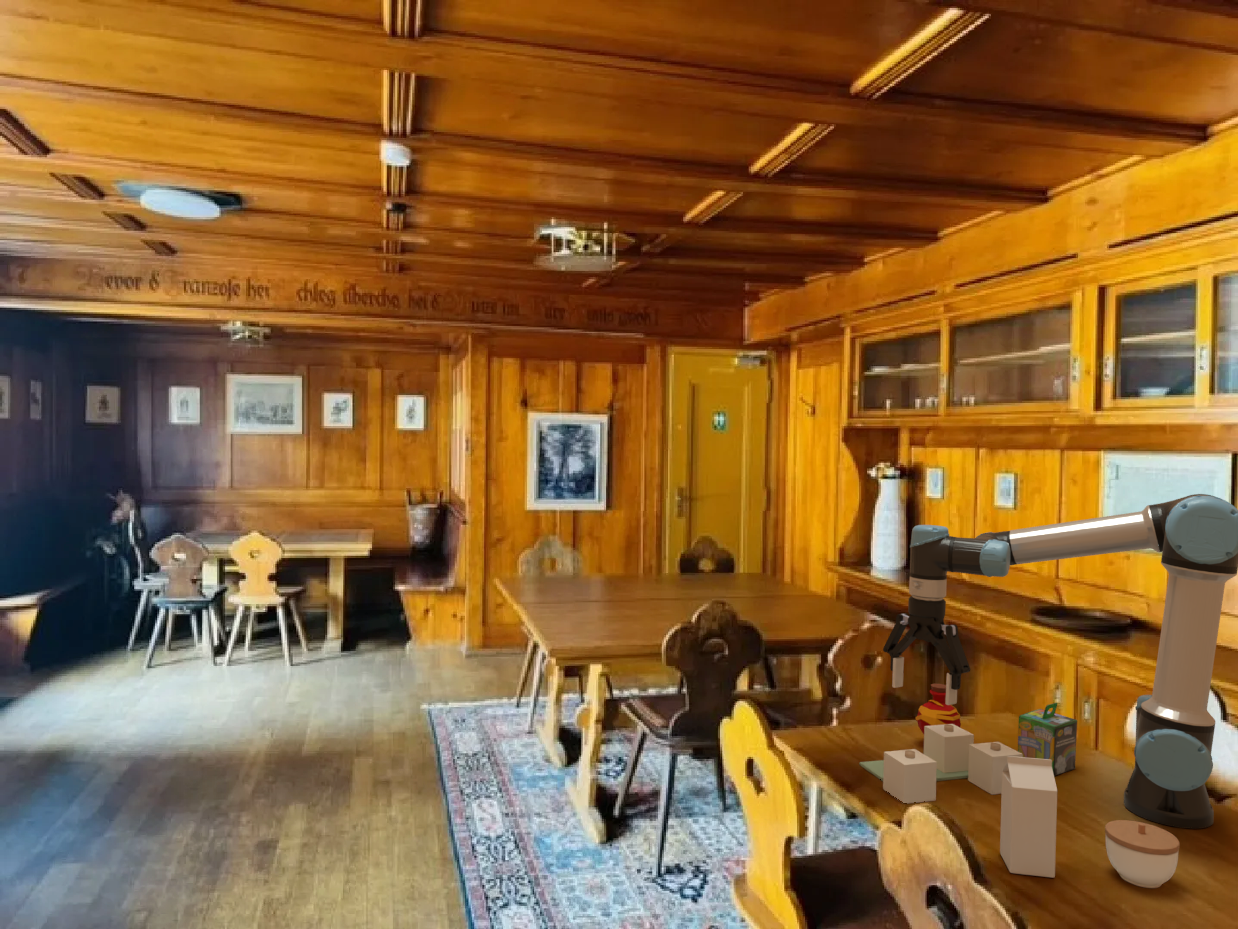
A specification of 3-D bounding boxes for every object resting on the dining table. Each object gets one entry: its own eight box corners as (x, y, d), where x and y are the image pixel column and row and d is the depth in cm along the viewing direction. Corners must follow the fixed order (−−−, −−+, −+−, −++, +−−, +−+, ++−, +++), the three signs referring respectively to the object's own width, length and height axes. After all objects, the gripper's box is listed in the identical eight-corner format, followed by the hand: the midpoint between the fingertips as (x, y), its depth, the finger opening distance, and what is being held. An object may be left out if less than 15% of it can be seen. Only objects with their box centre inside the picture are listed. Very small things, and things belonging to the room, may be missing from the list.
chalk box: (1038, 756, 198) (1040, 694, 198) (1077, 769, 190) (1078, 705, 190) (1015, 763, 193) (1016, 700, 193) (1053, 777, 185) (1055, 711, 185)
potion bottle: (906, 742, 206) (908, 681, 206) (941, 738, 210) (943, 678, 209) (934, 757, 196) (936, 694, 196) (970, 753, 200) (972, 690, 199)
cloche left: (935, 800, 172) (936, 757, 172) (903, 804, 170) (904, 760, 170) (914, 786, 179) (915, 744, 179) (883, 789, 177) (884, 747, 177)
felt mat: (984, 776, 185) (984, 773, 185) (889, 785, 179) (889, 783, 179) (950, 756, 197) (950, 754, 197) (859, 765, 191) (859, 762, 191)
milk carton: (1055, 879, 141) (1058, 767, 141) (1009, 874, 143) (1012, 763, 142) (1042, 858, 148) (1045, 752, 148) (999, 854, 150) (1002, 749, 149)
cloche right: (1021, 791, 177) (1022, 749, 177) (991, 794, 176) (992, 752, 175) (997, 777, 185) (998, 737, 184) (968, 780, 183) (969, 739, 183)
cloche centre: (951, 758, 194) (952, 719, 194) (973, 770, 187) (974, 730, 187) (923, 760, 193) (924, 721, 192) (943, 773, 185) (944, 732, 185)
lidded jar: (1149, 863, 147) (1151, 810, 147) (1193, 896, 137) (1195, 839, 136) (1090, 863, 147) (1091, 810, 147) (1129, 896, 136) (1131, 839, 136)
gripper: (869, 589, 188) (865, 682, 189) (968, 609, 167) (964, 714, 168) (891, 586, 192) (887, 678, 193) (990, 606, 171) (986, 708, 172)
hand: (923, 695), depth 180 cm, fingers open, 13 cm apart
